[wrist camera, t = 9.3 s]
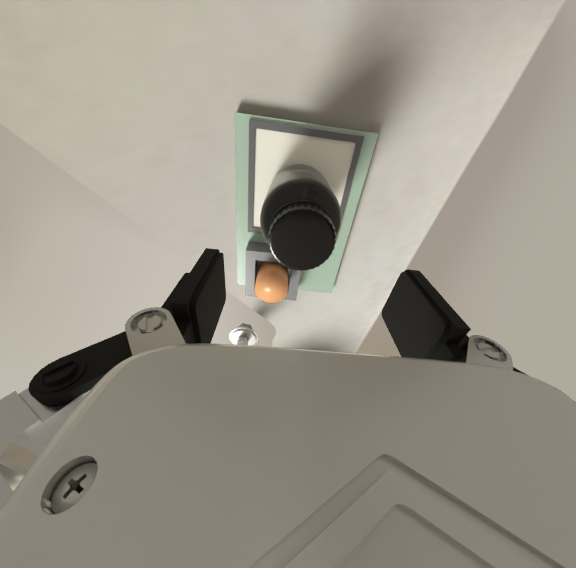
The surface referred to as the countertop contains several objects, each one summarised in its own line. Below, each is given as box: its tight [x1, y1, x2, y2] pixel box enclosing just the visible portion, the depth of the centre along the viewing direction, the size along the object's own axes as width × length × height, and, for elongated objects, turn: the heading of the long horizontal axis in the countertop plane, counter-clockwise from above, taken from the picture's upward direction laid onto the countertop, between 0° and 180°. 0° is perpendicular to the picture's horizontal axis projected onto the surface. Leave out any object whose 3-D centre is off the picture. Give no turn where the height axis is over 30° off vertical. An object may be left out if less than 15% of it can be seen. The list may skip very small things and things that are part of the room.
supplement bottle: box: [260, 164, 342, 271], centre depth 20 cm, size 7×7×12 cm
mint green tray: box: [235, 112, 379, 300], centre depth 26 cm, size 20×14×4 cm
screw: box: [229, 324, 258, 346], centre depth 34 cm, size 13×5×5 cm
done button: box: [255, 261, 288, 303], centre depth 28 cm, size 4×4×4 cm
